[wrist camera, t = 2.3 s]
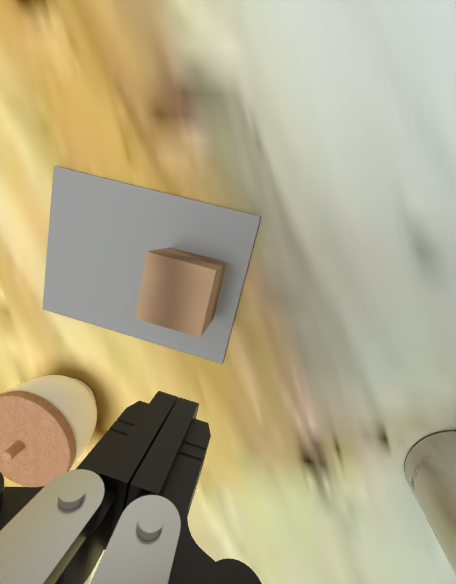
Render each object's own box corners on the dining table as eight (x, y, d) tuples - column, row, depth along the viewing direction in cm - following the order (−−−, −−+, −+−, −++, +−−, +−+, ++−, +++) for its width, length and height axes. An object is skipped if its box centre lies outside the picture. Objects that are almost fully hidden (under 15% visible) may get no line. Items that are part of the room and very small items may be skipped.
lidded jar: (37, 425, 38) (-38, 487, 29) (35, 352, 35) (-48, 394, 26) (111, 444, 36) (57, 516, 27) (115, 370, 34) (57, 421, 25)
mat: (260, 216, 27) (260, 216, 27) (222, 362, 31) (222, 363, 31) (56, 166, 30) (53, 165, 29) (45, 308, 34) (42, 309, 33)
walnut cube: (228, 262, 28) (216, 270, 23) (214, 316, 30) (200, 337, 24) (172, 247, 29) (146, 251, 23) (161, 301, 30) (135, 318, 25)
